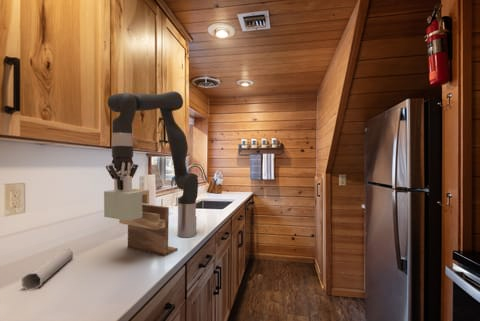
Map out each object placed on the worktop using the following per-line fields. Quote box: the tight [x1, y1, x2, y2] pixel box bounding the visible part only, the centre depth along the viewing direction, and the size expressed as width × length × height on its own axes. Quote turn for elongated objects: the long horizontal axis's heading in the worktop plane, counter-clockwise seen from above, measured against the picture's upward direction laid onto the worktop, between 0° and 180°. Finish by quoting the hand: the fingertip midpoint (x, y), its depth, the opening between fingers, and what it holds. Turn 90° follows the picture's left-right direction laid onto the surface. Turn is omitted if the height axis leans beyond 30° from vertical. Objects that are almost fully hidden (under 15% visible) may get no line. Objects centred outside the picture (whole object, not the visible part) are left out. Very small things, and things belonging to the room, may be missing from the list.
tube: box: [21, 248, 74, 291], centre depth 87 cm, size 5×5×25 cm
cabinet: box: [103, 176, 150, 221], centre depth 99 cm, size 10×14×16 cm
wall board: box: [118, 203, 179, 257], centre depth 109 cm, size 12×22×20 cm, turn 64°
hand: (123, 189), depth 97 cm, fingers closed on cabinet, 1 cm apart
